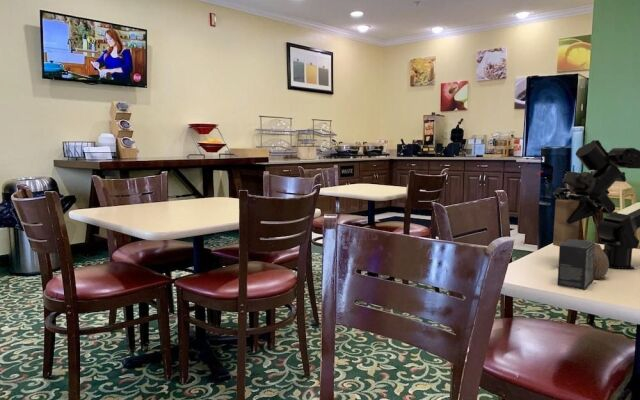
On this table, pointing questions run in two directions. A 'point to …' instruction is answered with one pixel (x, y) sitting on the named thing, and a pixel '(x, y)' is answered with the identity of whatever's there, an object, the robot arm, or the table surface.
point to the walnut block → (565, 222)
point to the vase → (600, 263)
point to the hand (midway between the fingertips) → (562, 221)
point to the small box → (576, 263)
